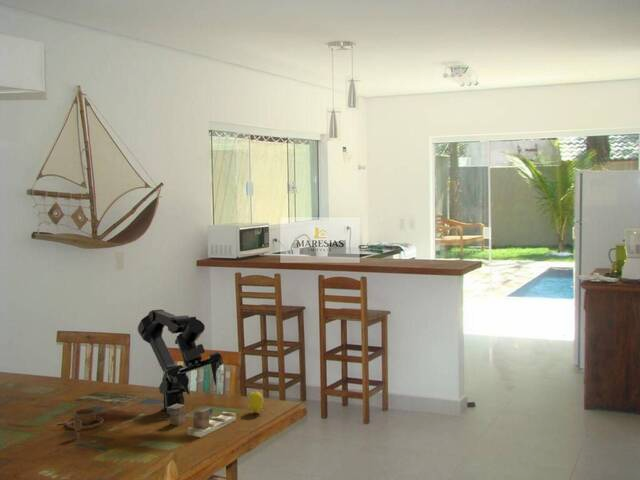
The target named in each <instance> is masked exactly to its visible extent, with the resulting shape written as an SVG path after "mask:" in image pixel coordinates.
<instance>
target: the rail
mask: <svg viewBox="0 0 640 480" xmlns="http://www.w3.org/2000/svg"><path fill="white" fill-rule="evenodd" d="M210 415H211V417H210ZM212 415H213V407H208V406H201V407H198V408H196V409H194V410H193V411H192V418H193V419H192V424H193V427H191V426H190V427H188V428H187V435H188V436H192V437H198V438H202V437H203V438H204V436H206V435H209V434H211V433H213V432H215V431H217V430H219V429H221V428H223V427H225V426H227V425H229V424H231V423H233V422H235V421H237V414H236V413H235V412H229V411H228V412H227V411H222V412H221V414H220V415H218V416H212ZM210 418H211V419H210Z"/></svg>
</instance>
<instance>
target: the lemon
mask: <svg viewBox="0 0 640 480" xmlns="http://www.w3.org/2000/svg"><path fill="white" fill-rule="evenodd" d="M264 401H265V400H264V396H263V394H262V393H261V392H260V391H258V390H254V391H252V392H251V393H250V394H249V395H248V398H247V407H248V409H250V411H252V412H253V413H254V414H257V413H258V412H259V411H261V410H262V409H263V407H264Z"/></svg>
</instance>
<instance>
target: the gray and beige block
mask: <svg viewBox="0 0 640 480" xmlns="http://www.w3.org/2000/svg"><path fill="white" fill-rule="evenodd" d="M186 409H187V407H186V404H184V405H183V404H174V405H172V406H169V407H167V411H166V414H168V415H170V417H169V418H170V419H169V424H170V425H175V426H181V425H183V424H185V423H187V422H186V420H187V418H186V415H187V414H186Z"/></svg>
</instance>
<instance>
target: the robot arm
mask: <svg viewBox="0 0 640 480" xmlns="http://www.w3.org/2000/svg"><path fill="white" fill-rule="evenodd" d="M164 327H167V330H168V332H170V333H171V334H178V335H177V336H176V339H175V341H174V344H175V345H178V348H179V351H180V355H181V357H182V360H183V364H184V366H183V365H182V364H179V365H177V364H176V362H175V361H174V359H173V356H172V355H171V352H170V351H169V349H168V347H167V344H166V343H165V340H164V338H163V336H162V335H163V332H164ZM205 327H206V326H205V324H204V323H203V322H202V321H201V320H200V319H197V316H189V315H175V314H174V313H170V312H167V311H166V310H164V309H154V310H153V309H152V310H151V311H150V310H149V312H148V314H147V315H146V316H145V317H143V318H142V319H141V320H140V322H139V324H138V326H137V332H138V334H139V335H140V337H141V338H142V340H143V341H144V342H146V343H148V344H149V345H150V346H151V349H152V352H153V353H154V355H155V357H156V360H157V361H158V363H159V365H160V368H161V370H162V372H163V374H162V379H161V382H160V384H159V387H158V389H159V394H162V395H163V407H162V408H160V411H163V412H164V411H165V412H167V407H169V406H172V405H174V404H183V405H185V397H184V393H186V394H187V395H188V396H189V395H190V394H191V393H190V390H189V383H190V380H189V377H188V375H187V373H189V372H192V371H194V370H198V369H201V368H203V367H207V366H209V365H210V370H211V375H212V380H213V383H214V385H215V386H217V372H218V369H220V367H221V365H223V363H224V362H223V357H222V354H221V353H220V352H218V351H217V352H214V353H211V354H208V359H204V360H203V358H202V354H206V353H205V348H204V346H203V343H200V344H197V343H196V342H197V341H198V340H199V338H200V337H201V335H202V334H203V332H204V331H205Z"/></svg>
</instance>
